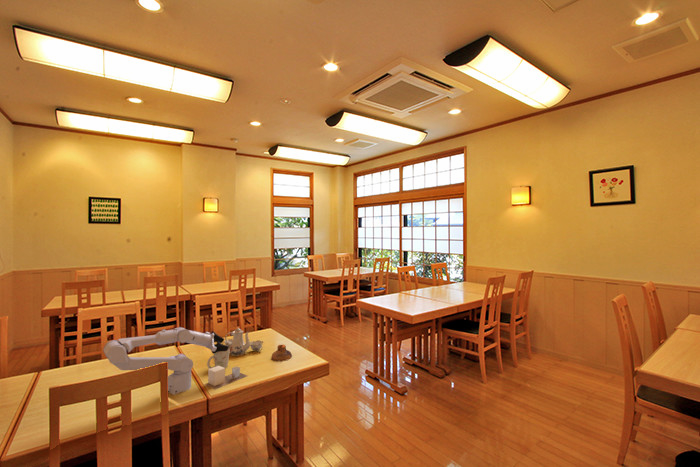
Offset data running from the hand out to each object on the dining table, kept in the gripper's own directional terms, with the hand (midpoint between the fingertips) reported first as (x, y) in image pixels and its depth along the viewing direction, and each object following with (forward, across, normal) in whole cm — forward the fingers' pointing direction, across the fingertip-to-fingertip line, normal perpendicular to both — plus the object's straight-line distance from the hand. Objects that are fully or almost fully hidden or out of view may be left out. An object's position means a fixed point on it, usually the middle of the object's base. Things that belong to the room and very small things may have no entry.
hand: (225, 344), depth 162 cm
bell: (+39, +3, +2) cm, 39 cm away
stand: (+5, -11, +13) cm, 18 cm away
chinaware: (+28, +26, +15) cm, 41 cm away
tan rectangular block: (0, -10, +14) cm, 18 cm away
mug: (+8, +6, +18) cm, 20 cm away
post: (+9, -11, +11) cm, 18 cm away
